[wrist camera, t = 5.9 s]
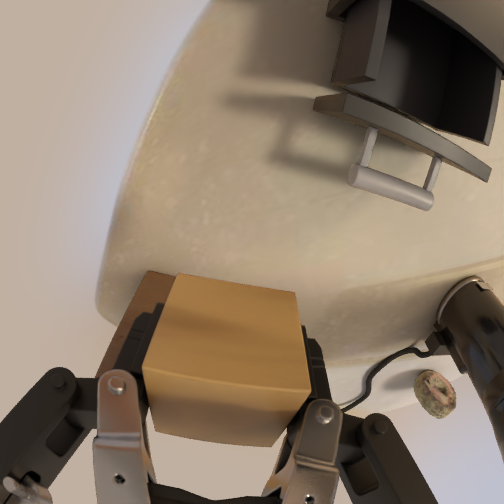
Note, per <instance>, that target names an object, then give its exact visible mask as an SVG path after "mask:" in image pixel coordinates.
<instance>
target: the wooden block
mask: <svg viewBox="0 0 504 504" xmlns="http://www.w3.org/2000/svg"><path fill="white" fill-rule="evenodd" d="M175 279H176V278H175V277H174V276H169V275H165V274H161V273H156V272H152V271H147V273H146V275H145V276H144V278H143V280H142V282H141V284H140V286H139V287H138V289H137V291H136V293H135V295H134V297H133V299H132V301H131V302H130V304H129V306H128V308H127V310H126V312H125V314H124V316H123V318H122V320H121V322H120V324H119V326H118V328H117V330H116V332H115V334H114V337H113V338H112V341H111V343H110V345H109V347H108V349H107V351H106V354H105V356H104V358H103V360H102V362H101V365H100V367H99V369H98V371H97V374H96V376H95V378H98V377H101V376H102V375H103V374H104V373H105V372H107V371H110V370H111V369H112V368H113V366H114V364H115V362H116V359H117V357H118V355H119V353H120V350H121V348H122V346H123V344H124V341H125V339H126V338H127V335H128V333H129V330H130V328H131V326H132V324H133V322H134V320H135V318H136V317H138V316H139V315H140V314H141V313H142V312H148V313H153V311H154V308H155V306H156V304H157V302H162V303H166V301H167V298H168V296H169V293H170V291H171V288H172V286H173V283H174V281H175Z"/></svg>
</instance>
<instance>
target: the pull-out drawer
mask: <svg viewBox="0 0 504 504" xmlns="http://www.w3.org/2000/svg"><path fill="white" fill-rule="evenodd" d="M501 78H502V68H501V67H500V66H499V65H498V64H497V63H496V62H495V61H494V60H493V59H492V58H490V57H489V56H488V55H487V54H486V53H485V52H484V51H482V50H481V49H480V48H479V47H478V46H477V45H475V44H474V43H473V42H472V41H470V40H469V39H468V38H467V37H465V36H464V35H463V34H461V33H460V32H459V31H457V30H456V29H455V28H453V27H452V26H450V25H449V24H447V23H446V22H445V21H443V20H442V19H440V18H439V17H437V16H436V15H434V14H432V13H431V12H429V11H428V10H426V9H424V8H423V7H421V6H419V5H418V4H416V3H414V2H412V1H410V0H355V1H354V2H353V3H352V4H351V5H350V6H349V7H348V10H347V14H346V19H345V24H344V28H343V33H342V37H341V41H340V46H339V50H338V54H337V59H336V63H335V67H334V71H333V75H332V79H331V84H332V85H335V86H338V87H341V88H344V89H347V90H350V91H352V92H355V93H358V94H360V95H363V96H365V97H368V98H370V99H373V100H375V101H378V102H380V103H382V104H385V105H387V106H389V107H391V108H394V109H396V110H398V111H400V112H402V113H404V114H406V115H408V116H410V117H412V118H414V119H416V120H418V121H420V122H422V123H424V124H426V125H428V126H430V127H432V128H433V129H435V130H437V131H441V132H445V133H449V134H452V135H456V136H459V137H462V138H466V139H469V140H472V141H475V142H478V143H481V144H484V145H487V146H489V143H490V139H491V135H492V131H493V126H494V122H495V117H496V112H497V106H498V100H499V93H500V86H501ZM313 111H317V112H320V113H323V114H327V115H330V116H333V117H336V118H339V119H342V120H345V121H348V122H351V123H354V124H356V125H359V126H362V127H365V128H367V132H366V135H365V139H364V142H363V146H362V149H361V152H360V156H359V159H358V162H357V163H358V164H353V165H352V167H351V168H350V171H349V174H348V184H349V185H350V186H352V187H356V188H359V189H362V190H366V191H369V192H372V193H375V194H378V195H381V196H384V197H387V198H390V199H393V200H396V201H399V202H402V203H405V204H408V205H410V206H413V207H416V208H419V209H421V210H424V211H428V210H430V209H431V207H432V206H433V203H434V196H433V194H432V189H433V187H434V184H435V181H436V178H437V175H438V172H439V169H440V166H441V163H442V161H443V162H445V163H447V164H449V165H452V166H454V167H456V168H458V169H460V170H462V171H465V172H467V173H469V174H471V175H473V176H475V177H477V178H479V179H481V180H483V181H484V182H486V183H487V182H488V179H489V176H490V173H491V168H490V167H489V166H488V165H486V164H485V163H483V162H482V161H480V160H479V159H477V158H476V157H475V156H473V155H472V154H470V153H468V152H467V151H465V150H464V149H462V148H461V147H459V146H457V145H456V144H454V143H452V142H451V141H449V140H447V139H446V138H444V137H442V136H440V135H439V134H437V133H435V132H433V131H431V130H430V129H428V128H426V127H424V126H422V125H420V124H418V123H416V122H414V121H412V120H410V119H408V118H406V117H404V116H402V115H400V114H398V113H395V112H393V111H391V110H389V109H386V108H384V107H382V106H379V105H377V104H375V103H372V102H370V101H367V100H365V99H362V98H360V97H357V96H354V95H352V94H349V93H343V94H334V95H327V96H319V97H316V98H315V102H314V106H313ZM377 133H380V134H383V135H385V136H388V137H390V138H392V139H395V140H397V141H399V142H402V143H404V144H406V145H408V146H410V147H413V148H415V149H417V150H419V151H421V152H423V153H425V154H427V155H429V156H431V157H433V159H432V162H431V165H430V168H429V171H428V174H427V177H426V180H425V183H424V186H423V188H424V189H423V188H421V187H418V186H416V185H414V184H411V183H409V182H406V181H403V180H401V179H398V178H396V177H393V176H390V175H388V174H385V173H382V172H379V171H377V170H374V169H371V168H368V163H369V160H370V157H371V154H372V150H373V147H374V144H375V140H376V137H377Z"/></svg>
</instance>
